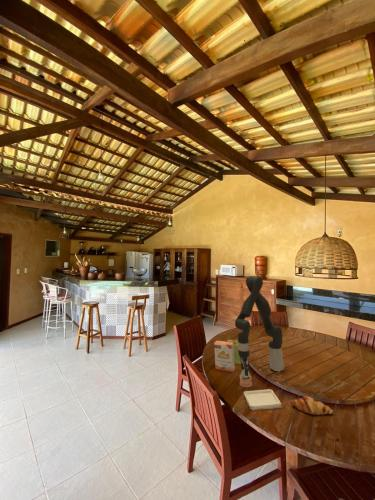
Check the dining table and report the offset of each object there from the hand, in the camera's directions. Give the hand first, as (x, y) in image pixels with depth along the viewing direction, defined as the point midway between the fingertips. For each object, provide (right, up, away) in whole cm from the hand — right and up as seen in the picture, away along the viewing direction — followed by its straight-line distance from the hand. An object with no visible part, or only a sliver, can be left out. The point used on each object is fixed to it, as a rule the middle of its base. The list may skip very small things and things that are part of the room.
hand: (244, 372), depth 157 cm
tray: (+6, -8, -19) cm, 21 cm away
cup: (+1, -8, 0) cm, 8 cm away
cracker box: (-10, -9, +20) cm, 25 cm away
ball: (0, -1, 0) cm, 1 cm away
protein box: (+2, -8, +33) cm, 34 cm away
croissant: (+30, -7, -29) cm, 42 cm away
